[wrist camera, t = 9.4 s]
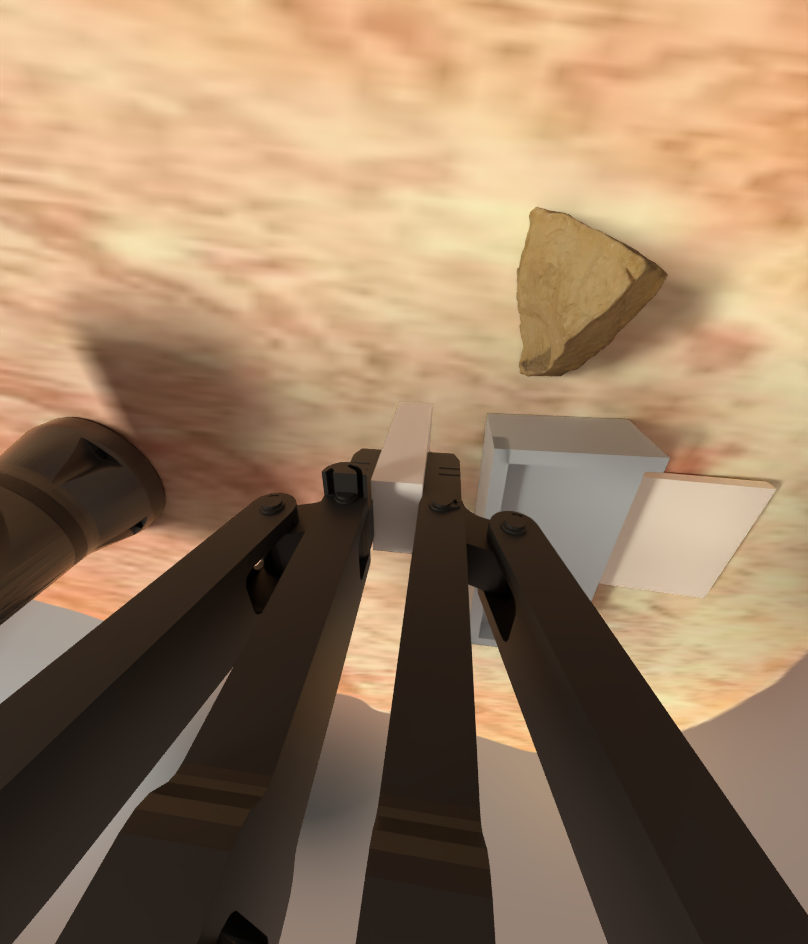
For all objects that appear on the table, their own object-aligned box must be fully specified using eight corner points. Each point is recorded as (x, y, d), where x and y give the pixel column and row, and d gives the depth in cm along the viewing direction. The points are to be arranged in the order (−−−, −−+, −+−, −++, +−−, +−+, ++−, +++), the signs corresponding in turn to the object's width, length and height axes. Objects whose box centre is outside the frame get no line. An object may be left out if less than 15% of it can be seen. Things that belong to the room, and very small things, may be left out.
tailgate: (593, 582, 39) (704, 598, 37) (635, 476, 32) (776, 489, 30) (590, 574, 40) (698, 589, 38) (631, 469, 33) (766, 481, 31)
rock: (571, 412, 28) (688, 294, 22) (524, 423, 22) (668, 265, 16) (483, 332, 32) (562, 212, 26) (423, 323, 26) (507, 164, 20)
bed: (464, 591, 44) (465, 643, 38) (487, 413, 32) (494, 448, 26) (563, 601, 43) (580, 656, 37) (628, 419, 30) (669, 457, 24)
